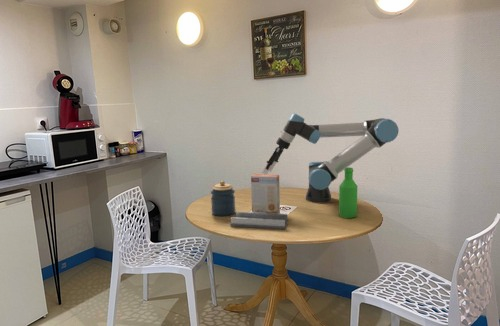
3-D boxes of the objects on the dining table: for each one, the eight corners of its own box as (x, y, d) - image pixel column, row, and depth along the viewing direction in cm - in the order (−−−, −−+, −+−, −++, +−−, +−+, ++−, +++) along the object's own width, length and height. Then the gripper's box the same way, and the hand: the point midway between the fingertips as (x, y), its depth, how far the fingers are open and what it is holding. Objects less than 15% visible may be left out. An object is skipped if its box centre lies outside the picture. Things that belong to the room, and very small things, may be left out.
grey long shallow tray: (287, 221, 170) (287, 213, 170) (284, 229, 159) (284, 221, 158) (237, 218, 176) (237, 210, 176) (230, 226, 165) (230, 218, 164)
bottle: (347, 219, 170) (348, 170, 166) (335, 215, 178) (336, 167, 173) (360, 216, 174) (361, 168, 170) (348, 212, 182) (349, 165, 177)
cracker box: (280, 213, 183) (279, 174, 180) (277, 216, 178) (276, 177, 174) (255, 211, 188) (254, 173, 184) (251, 214, 182) (250, 175, 179)
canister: (207, 215, 183) (205, 183, 180) (217, 208, 195) (216, 177, 192) (229, 217, 178) (228, 184, 175) (239, 210, 190) (238, 179, 187)
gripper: (282, 135, 204) (265, 166, 208) (275, 137, 180) (255, 172, 184) (293, 142, 202) (276, 172, 207) (287, 144, 178) (267, 179, 183)
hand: (266, 172), depth 196 cm, fingers open, 13 cm apart
